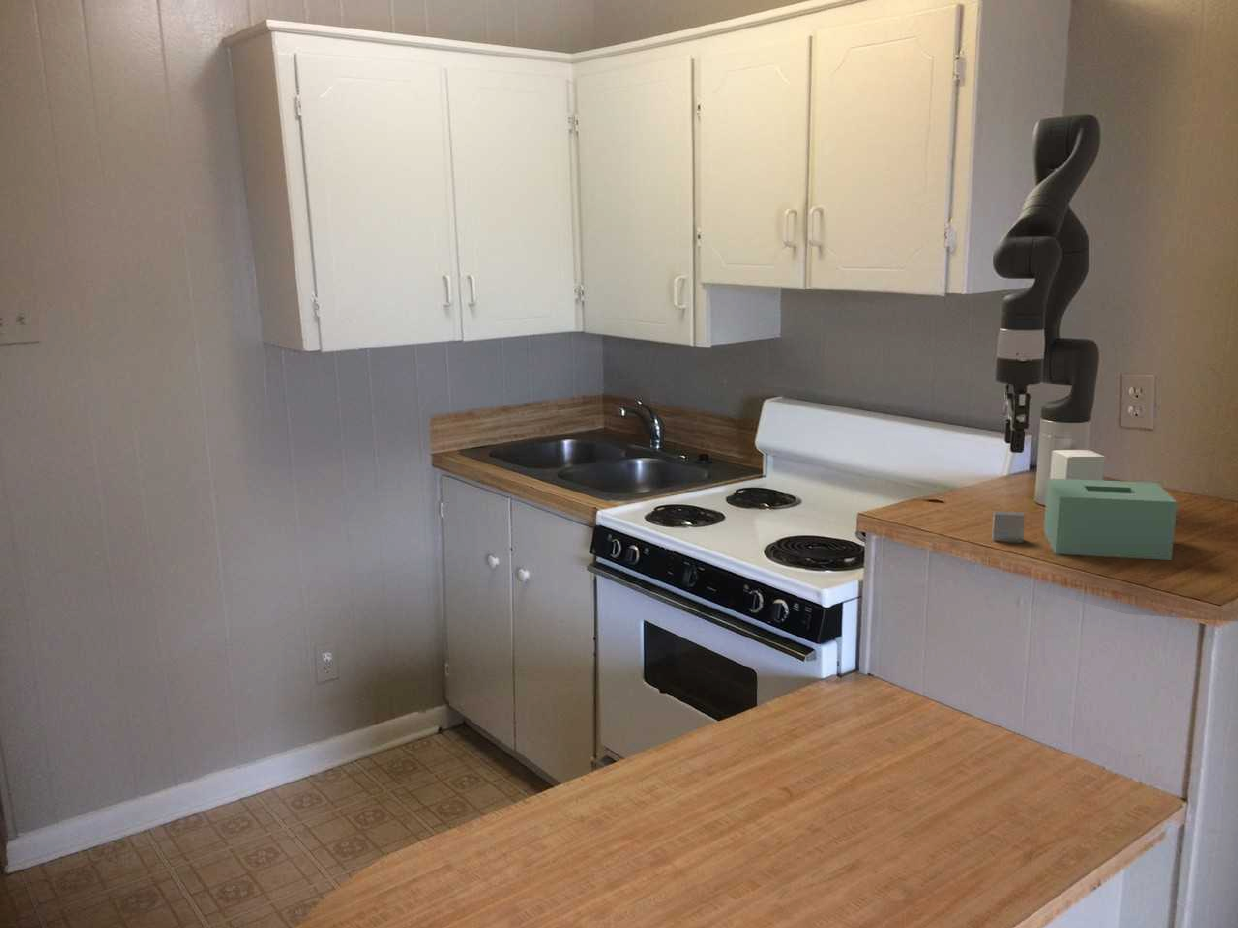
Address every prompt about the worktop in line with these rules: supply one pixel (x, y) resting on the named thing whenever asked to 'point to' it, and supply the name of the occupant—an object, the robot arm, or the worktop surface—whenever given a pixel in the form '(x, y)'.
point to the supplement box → (1077, 465)
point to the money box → (1110, 518)
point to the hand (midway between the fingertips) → (1013, 447)
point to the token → (1008, 526)
